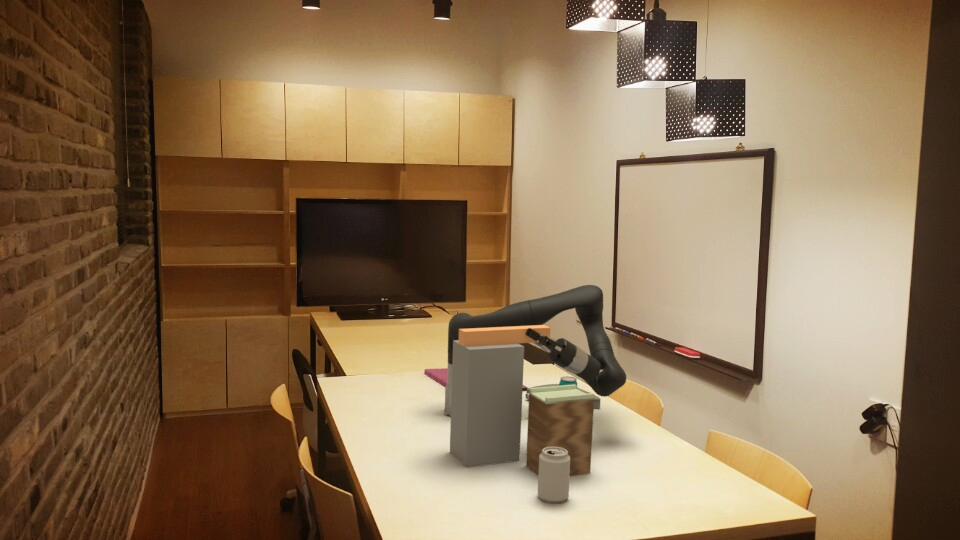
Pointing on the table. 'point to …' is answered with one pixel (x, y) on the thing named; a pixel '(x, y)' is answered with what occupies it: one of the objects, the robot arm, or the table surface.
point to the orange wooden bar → (499, 335)
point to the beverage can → (567, 381)
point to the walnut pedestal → (560, 432)
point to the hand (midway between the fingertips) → (523, 329)
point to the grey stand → (486, 403)
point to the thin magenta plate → (444, 376)
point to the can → (554, 474)
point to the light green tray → (596, 399)
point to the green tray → (560, 394)
